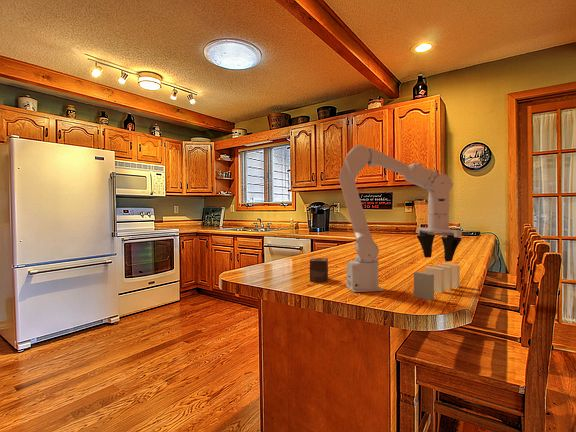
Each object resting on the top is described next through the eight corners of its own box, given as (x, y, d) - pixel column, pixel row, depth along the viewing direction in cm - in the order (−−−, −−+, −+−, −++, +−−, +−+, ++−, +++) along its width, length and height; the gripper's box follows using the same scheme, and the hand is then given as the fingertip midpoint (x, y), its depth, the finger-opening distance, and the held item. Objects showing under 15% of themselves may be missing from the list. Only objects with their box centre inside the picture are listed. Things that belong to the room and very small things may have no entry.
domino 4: (457, 287, 98) (457, 265, 98) (441, 284, 102) (441, 263, 102) (459, 286, 99) (459, 265, 99) (443, 283, 103) (443, 262, 103)
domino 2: (441, 293, 92) (441, 269, 92) (425, 289, 96) (425, 267, 96) (443, 292, 93) (444, 268, 93) (427, 288, 97) (428, 266, 97)
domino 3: (449, 290, 95) (449, 267, 95) (433, 287, 99) (433, 265, 99) (452, 289, 96) (452, 266, 96) (436, 286, 100) (436, 264, 100)
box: (326, 282, 107) (326, 261, 106) (309, 281, 108) (309, 260, 108) (328, 278, 113) (328, 258, 112) (311, 277, 114) (311, 257, 114)
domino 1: (430, 300, 85) (430, 275, 85) (413, 296, 89) (413, 272, 89) (433, 299, 86) (433, 274, 86) (416, 295, 90) (417, 271, 90)
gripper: (469, 214, 89) (469, 262, 89) (429, 213, 102) (428, 255, 103) (451, 214, 86) (451, 263, 87) (412, 213, 100) (412, 256, 100)
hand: (437, 259), depth 95 cm, fingers open, 7 cm apart
